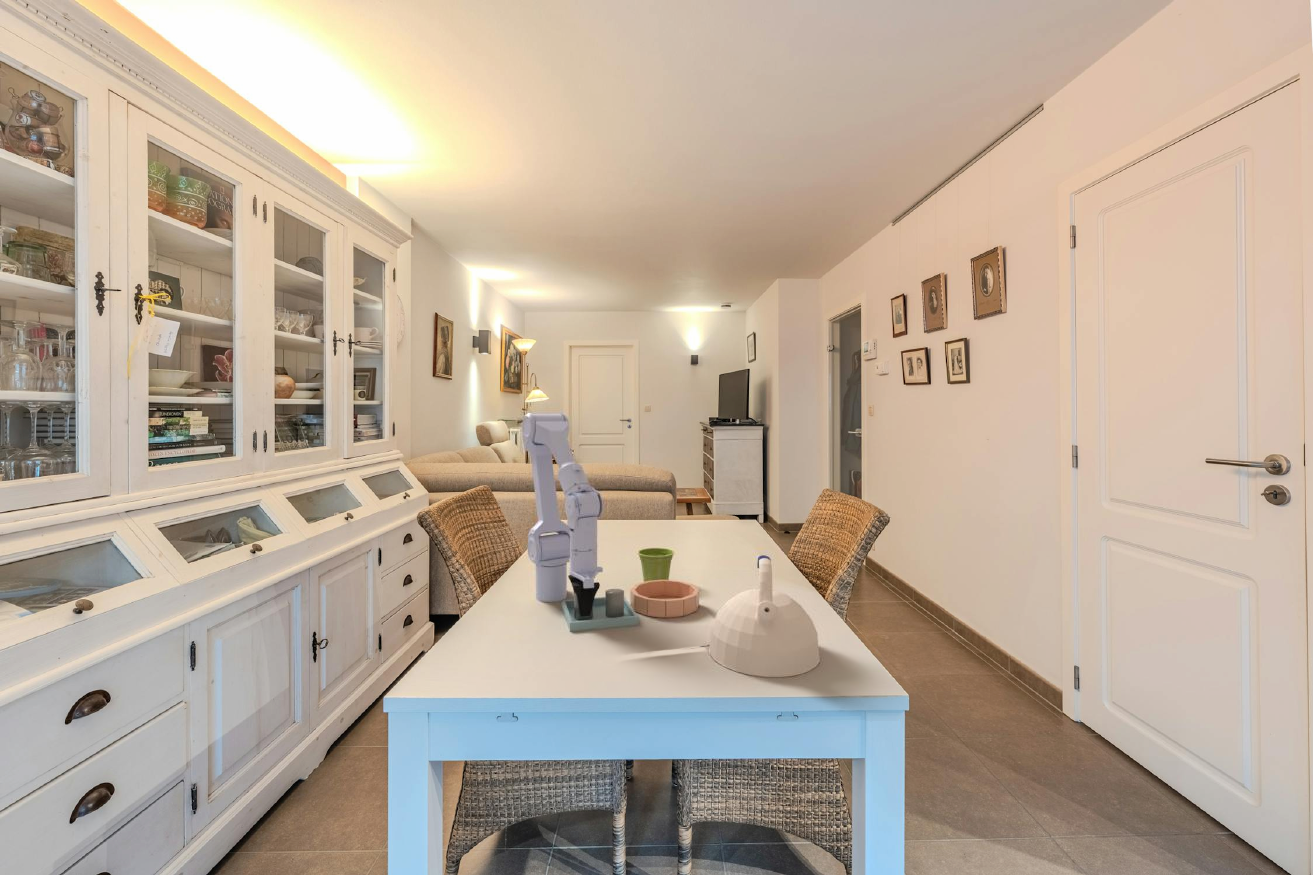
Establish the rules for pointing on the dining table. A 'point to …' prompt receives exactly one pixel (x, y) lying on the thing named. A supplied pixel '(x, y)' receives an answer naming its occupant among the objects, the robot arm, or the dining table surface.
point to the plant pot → (655, 563)
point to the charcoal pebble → (576, 611)
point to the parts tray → (598, 616)
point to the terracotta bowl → (664, 598)
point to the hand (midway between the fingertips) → (583, 611)
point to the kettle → (764, 632)
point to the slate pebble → (614, 603)
